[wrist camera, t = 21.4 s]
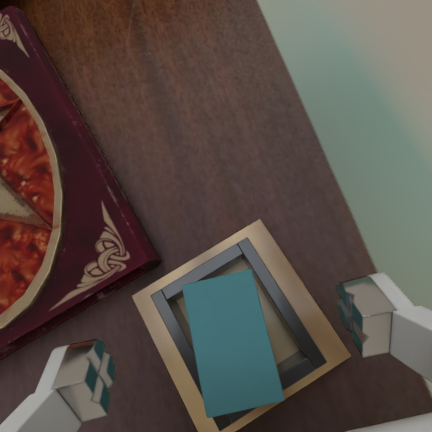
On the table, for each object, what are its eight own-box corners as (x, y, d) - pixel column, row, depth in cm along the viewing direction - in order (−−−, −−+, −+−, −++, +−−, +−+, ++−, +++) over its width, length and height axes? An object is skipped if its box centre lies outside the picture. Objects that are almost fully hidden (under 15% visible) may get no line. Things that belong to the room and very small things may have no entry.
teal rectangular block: (248, 284, 23) (251, 268, 13) (267, 358, 21) (285, 401, 12) (207, 293, 23) (181, 284, 13) (223, 368, 22) (206, 419, 12)
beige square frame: (259, 223, 26) (262, 206, 21) (344, 353, 23) (368, 364, 18) (137, 296, 25) (115, 294, 20) (209, 440, 22) (200, 474, 17)
